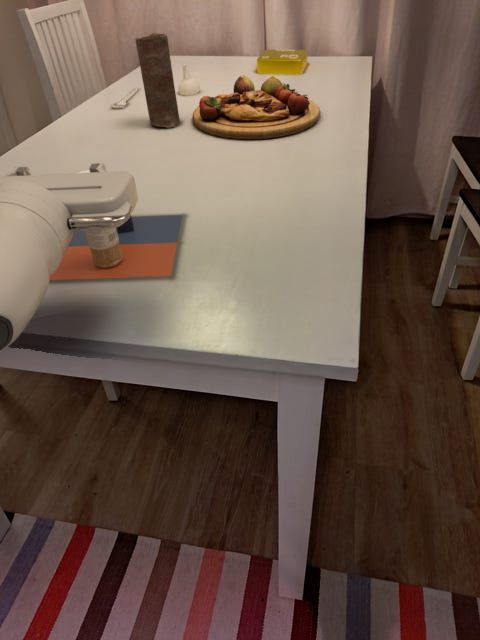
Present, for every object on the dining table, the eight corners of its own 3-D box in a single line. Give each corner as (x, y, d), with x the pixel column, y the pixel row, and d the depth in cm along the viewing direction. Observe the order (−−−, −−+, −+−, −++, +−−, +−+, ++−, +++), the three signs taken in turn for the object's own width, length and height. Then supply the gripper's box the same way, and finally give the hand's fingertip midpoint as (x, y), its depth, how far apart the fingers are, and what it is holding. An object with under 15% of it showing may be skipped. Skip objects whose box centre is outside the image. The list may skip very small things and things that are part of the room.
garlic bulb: (204, 94, 136) (201, 63, 131) (185, 98, 134) (182, 67, 129) (193, 89, 140) (190, 60, 135) (175, 93, 138) (171, 63, 133)
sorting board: (34, 283, 68) (33, 280, 67) (69, 222, 81) (68, 219, 81) (171, 279, 67) (170, 275, 67) (183, 217, 81) (182, 214, 80)
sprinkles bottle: (109, 249, 73) (87, 166, 64) (130, 258, 70) (110, 173, 62) (87, 263, 70) (60, 178, 61) (107, 273, 68) (83, 186, 59)
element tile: (307, 63, 158) (308, 47, 155) (302, 75, 148) (302, 58, 144) (264, 63, 161) (264, 47, 158) (255, 74, 151) (255, 58, 147)
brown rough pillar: (154, 133, 113) (139, 38, 100) (146, 124, 118) (131, 33, 105) (184, 127, 115) (173, 34, 102) (174, 119, 121) (163, 29, 107)
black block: (109, 235, 76) (102, 207, 73) (108, 223, 79) (101, 196, 76) (134, 230, 77) (128, 203, 73) (132, 219, 80) (126, 192, 76)
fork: (142, 91, 142) (141, 84, 141) (121, 112, 127) (120, 105, 126) (132, 91, 143) (131, 84, 141) (110, 112, 128) (108, 105, 127)
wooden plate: (203, 149, 104) (199, 110, 99) (186, 107, 128) (182, 74, 122) (338, 133, 108) (342, 95, 103) (298, 95, 132) (299, 62, 126)
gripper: (120, 194, 45) (141, 141, 55) (-89, 204, 45) (-30, 149, 56) (132, 250, 49) (150, 190, 59) (-59, 258, 49) (-9, 197, 60)
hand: (62, 170), depth 58 cm, fingers open, 8 cm apart
